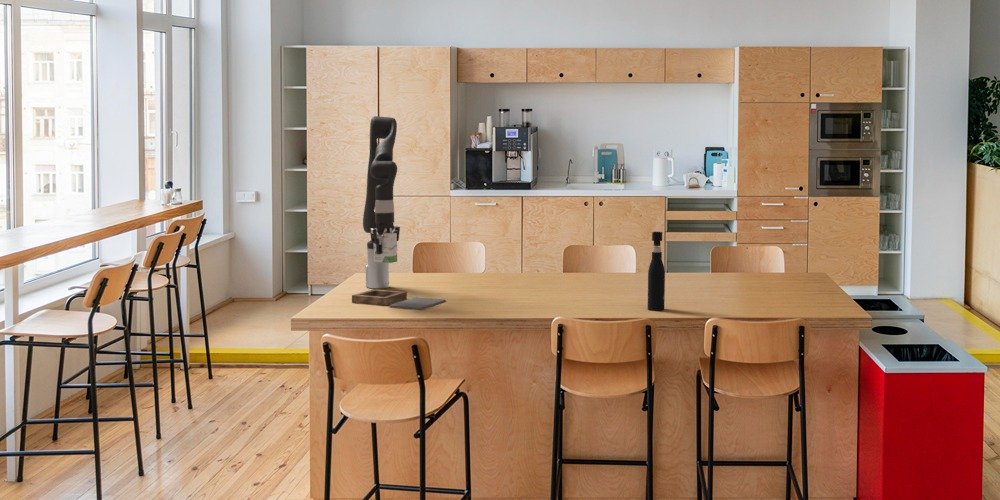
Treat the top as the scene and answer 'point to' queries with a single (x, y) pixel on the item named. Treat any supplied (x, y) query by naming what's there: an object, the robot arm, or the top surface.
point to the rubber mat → (417, 303)
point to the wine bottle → (656, 276)
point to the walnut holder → (379, 297)
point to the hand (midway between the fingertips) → (385, 253)
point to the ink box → (387, 249)
